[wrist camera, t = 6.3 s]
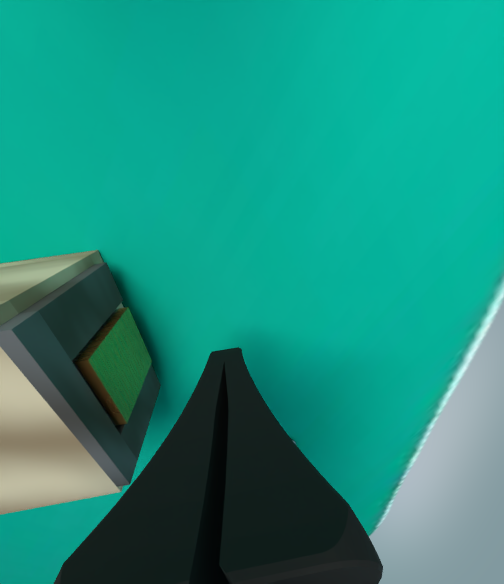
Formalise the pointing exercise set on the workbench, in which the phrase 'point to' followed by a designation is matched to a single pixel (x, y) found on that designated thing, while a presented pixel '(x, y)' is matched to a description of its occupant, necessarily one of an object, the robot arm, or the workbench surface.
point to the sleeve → (60, 386)
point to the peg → (115, 365)
